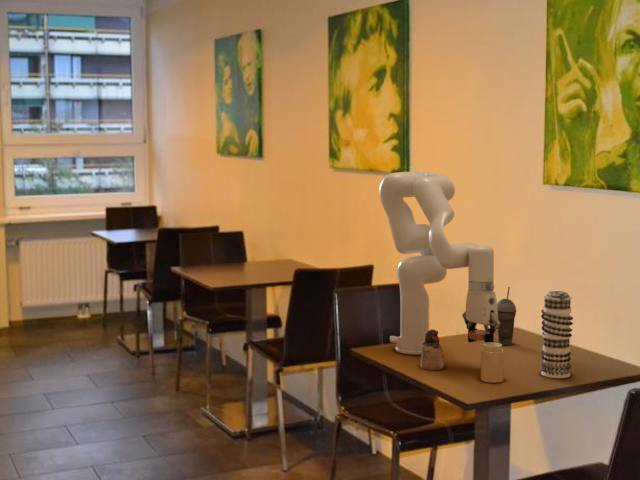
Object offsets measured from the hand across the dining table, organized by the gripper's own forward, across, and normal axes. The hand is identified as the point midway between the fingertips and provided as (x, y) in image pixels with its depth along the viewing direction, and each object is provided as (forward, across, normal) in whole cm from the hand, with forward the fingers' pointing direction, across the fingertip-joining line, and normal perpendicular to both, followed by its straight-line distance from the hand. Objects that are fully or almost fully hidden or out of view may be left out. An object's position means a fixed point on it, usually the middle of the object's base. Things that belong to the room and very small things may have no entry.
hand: (480, 343), depth 273 cm
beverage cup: (+8, +21, -30) cm, 37 cm away
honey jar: (+8, -10, +4) cm, 14 cm away
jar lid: (-3, 0, 0) cm, 3 cm away
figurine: (+8, +10, +10) cm, 17 cm away
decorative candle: (+9, -16, -15) cm, 24 cm away
